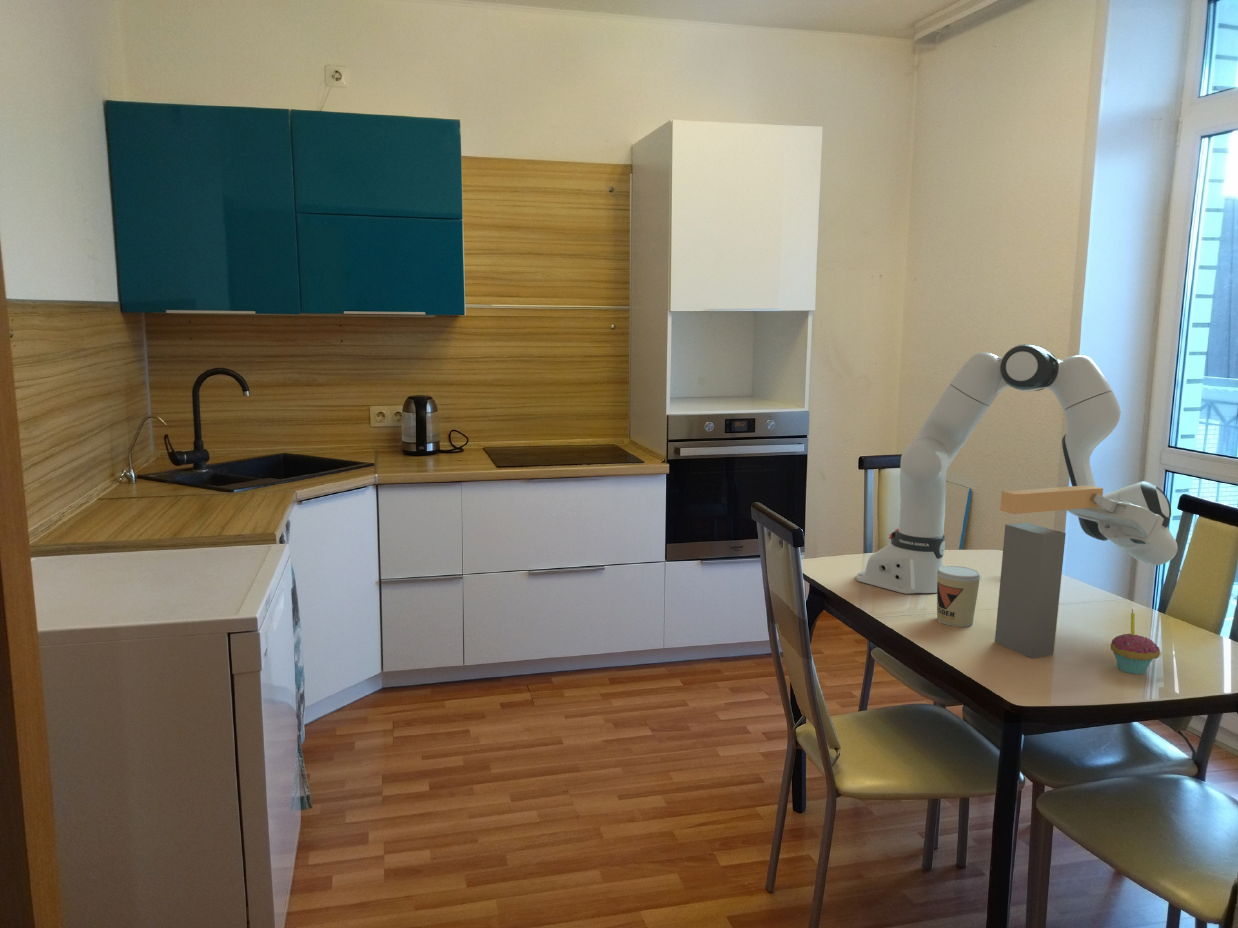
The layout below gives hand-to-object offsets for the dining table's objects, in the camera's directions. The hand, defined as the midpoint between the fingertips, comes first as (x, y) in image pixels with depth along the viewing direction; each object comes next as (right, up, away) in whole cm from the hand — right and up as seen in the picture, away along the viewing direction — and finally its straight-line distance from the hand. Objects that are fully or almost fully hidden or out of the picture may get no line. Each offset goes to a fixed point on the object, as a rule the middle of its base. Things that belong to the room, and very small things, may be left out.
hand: (1083, 494), depth 187 cm
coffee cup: (-21, -30, +17) cm, 40 cm away
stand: (-12, -33, +1) cm, 35 cm away
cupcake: (+4, -35, -10) cm, 37 cm away
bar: (-8, -3, -3) cm, 9 cm away
